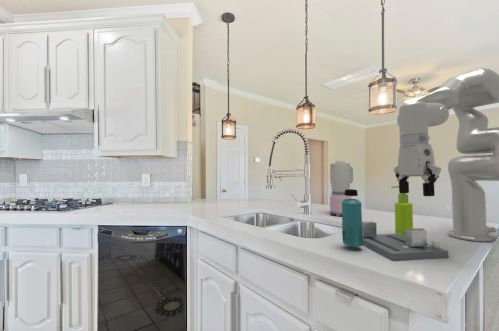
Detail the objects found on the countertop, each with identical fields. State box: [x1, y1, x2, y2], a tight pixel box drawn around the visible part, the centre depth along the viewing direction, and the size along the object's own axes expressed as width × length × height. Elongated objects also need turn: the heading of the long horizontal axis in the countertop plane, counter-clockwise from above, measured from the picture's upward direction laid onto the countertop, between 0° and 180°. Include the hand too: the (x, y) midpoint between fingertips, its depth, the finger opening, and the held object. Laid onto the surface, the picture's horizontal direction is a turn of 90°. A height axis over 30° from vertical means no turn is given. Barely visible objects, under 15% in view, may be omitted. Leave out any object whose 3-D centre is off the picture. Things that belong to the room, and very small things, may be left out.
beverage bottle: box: [341, 188, 363, 248], centre depth 80 cm, size 6×7×20 cm
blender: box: [329, 160, 354, 218], centre depth 141 cm, size 16×12×32 cm
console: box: [362, 233, 449, 262], centre depth 79 cm, size 18×20×4 cm
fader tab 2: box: [406, 227, 428, 247], centre depth 75 cm, size 5×2×5 cm, turn 96°
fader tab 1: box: [362, 220, 378, 237], centre depth 86 cm, size 5×2×5 cm, turn 96°
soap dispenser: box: [390, 185, 414, 236], centre depth 94 cm, size 6×7×20 cm
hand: (415, 194), depth 75 cm, fingers open, 9 cm apart
